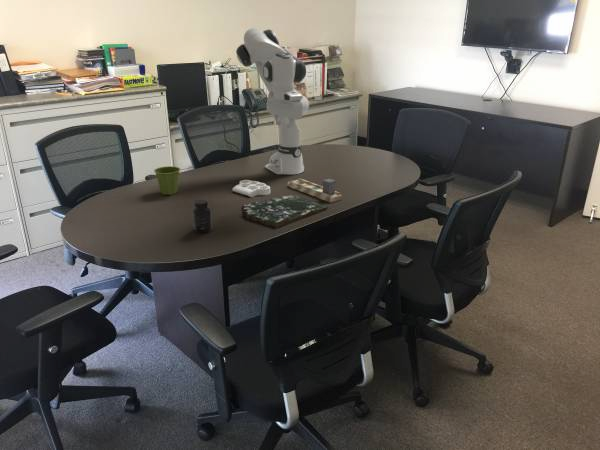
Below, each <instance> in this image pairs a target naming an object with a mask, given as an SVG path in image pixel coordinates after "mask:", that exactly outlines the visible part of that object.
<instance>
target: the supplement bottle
mask: <svg viewBox="0 0 600 450" xmlns="http://www.w3.org/2000/svg"><path fill="white" fill-rule="evenodd" d="M192 215H193V216H192V217H193V228H194V231H195V232H196V233H197V234H206V233H209V232H211V231H212V230H213V223H212V222H213V221H212V220H213V219H212V210H211V207H209V204H208V201H207V199H197V200H195V201H194V208H193V210H192Z"/></svg>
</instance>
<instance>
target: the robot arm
mask: <svg viewBox="0 0 600 450" xmlns="http://www.w3.org/2000/svg"><path fill="white" fill-rule="evenodd" d="M243 42H244V43H241V44H240V45H239V46H238V47H237V48H236V51H235V52H236V58H237V60H238V62H239V63H240V64H241V65H243V66H244V67H251V66H252V65H254V64H255V67H256V70H257V72H258V75H259V77H260V79H261V80H262V82H263V85H264V86H265V88H266V89H267V90H268V95H267V99H266V111H267V113H268V114H271V115H272V117H273V118H274V120H275V125H276V126H278V129H279V144H277V145H276V148H277V151H276V152H275V153H273V154H272V155H271V156H270V157H269V162H268V163H267V164H266V165H265V166H264V168H265V169H267V170H269V171H271V172H272V173H274V174H276V175H298V174H301V173H303V172H305V170H304V169H305V165H304V160H303V153H302V152H303V146H302V130H301V128H300V127H299V126H298V123H297V120H300V119H302V117H303V115H304V114H306V113H307V112H308V111H309V108H310V102H309V100H308V97H306V96H304V95H303V94H302V93H300V92H299V91H298V90H297V89H296V88H295V84H297V83H298V84H300V83H301V82H302V81H303V80H305V77H306V76H307V67H306V64H305V62H303V60H302V59H301V58H297V57H295V56H294V55H293V54H291V53H290V52H289V50H287V49H286V48H284V47H283V46H281V45H280V43H279V38H278V35H277V34H276V33H275V32H274V31H273V30H272V29H266V30H263V31H262V30H260V29H259V28H255V27H252V28H248V29H247V30H246V32H245V33H244V35H243ZM294 83H295V84H294Z"/></svg>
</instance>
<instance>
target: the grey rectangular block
mask: <svg viewBox="0 0 600 450" xmlns="http://www.w3.org/2000/svg"><path fill="white" fill-rule="evenodd" d="M322 186H323V193H326V194H328V195H331V194H334V193H335V191H336V180H335V179H331V178H327V179H322Z"/></svg>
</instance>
